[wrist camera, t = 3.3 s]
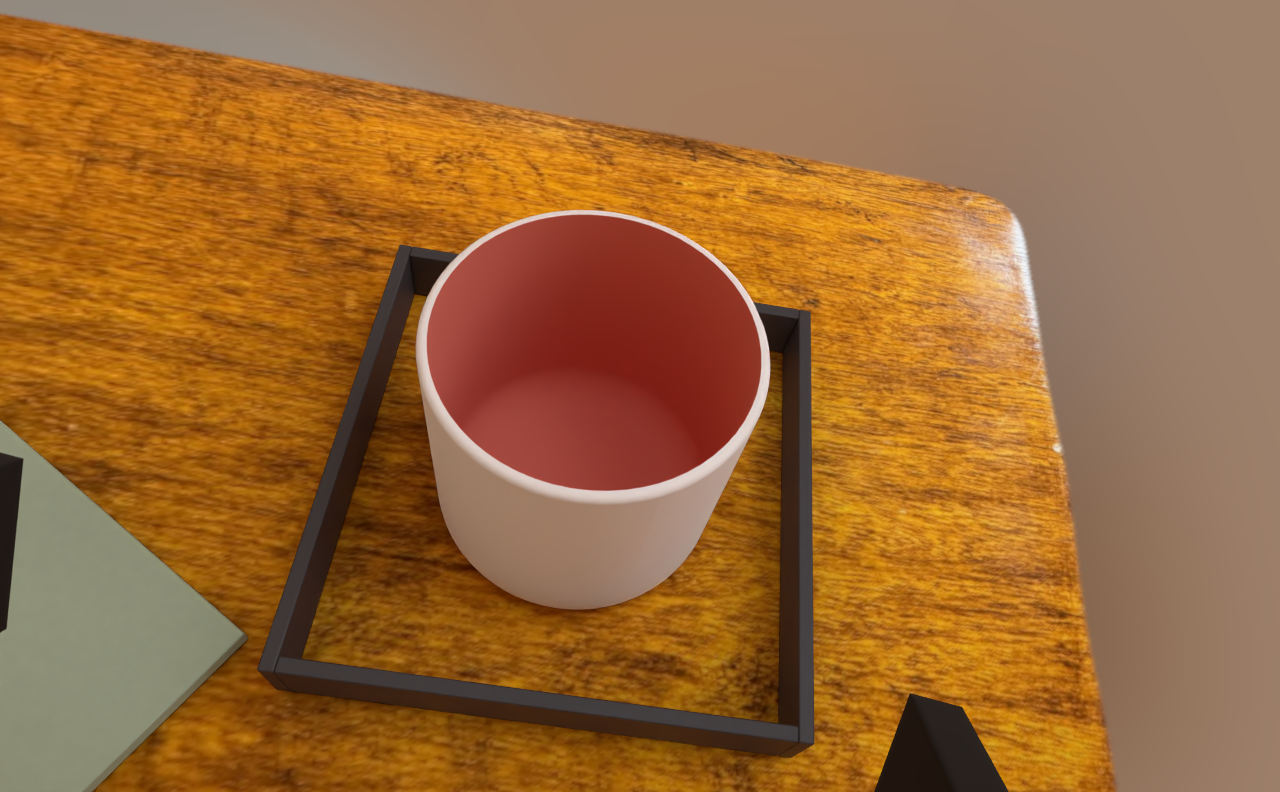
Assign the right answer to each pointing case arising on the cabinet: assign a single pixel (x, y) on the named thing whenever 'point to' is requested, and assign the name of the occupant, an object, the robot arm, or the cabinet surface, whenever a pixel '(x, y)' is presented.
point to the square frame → (292, 673)
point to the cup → (586, 401)
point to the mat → (91, 638)
